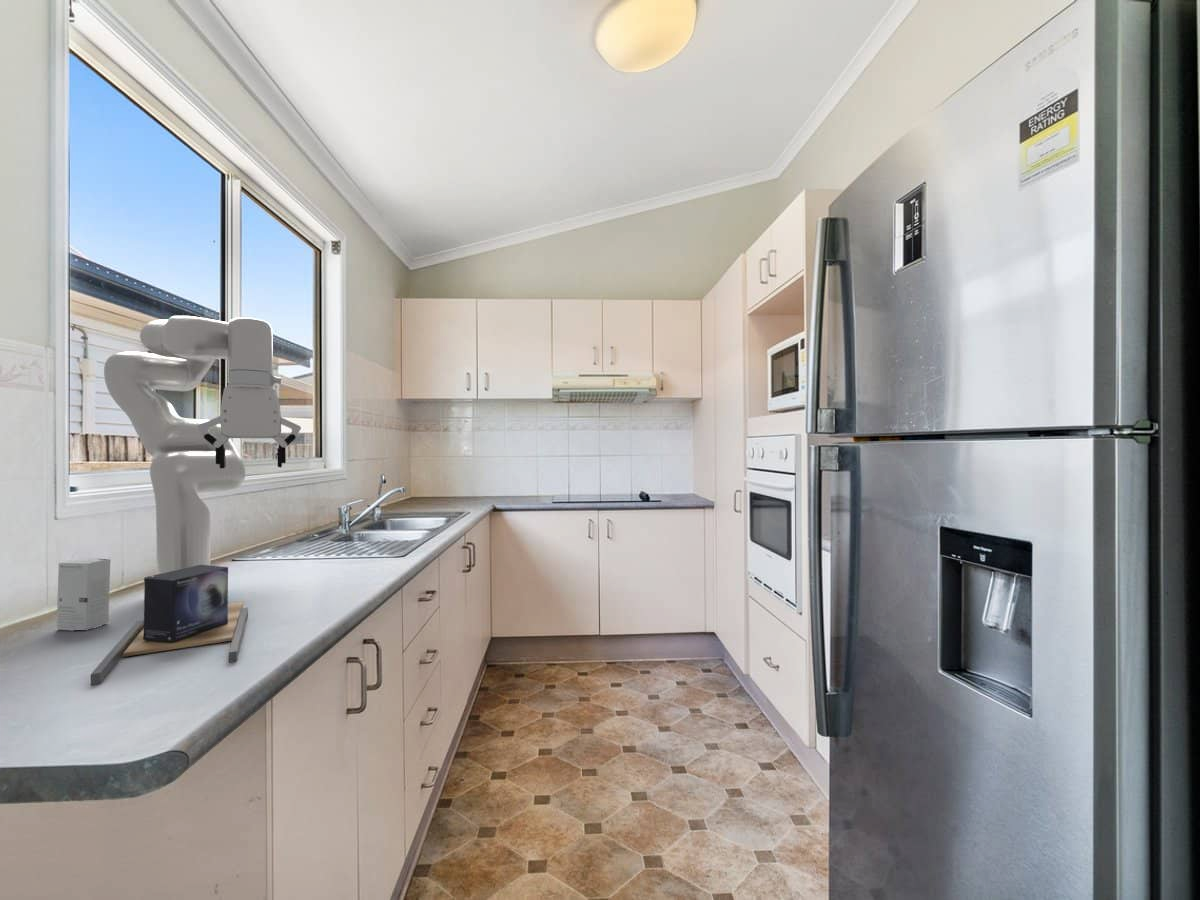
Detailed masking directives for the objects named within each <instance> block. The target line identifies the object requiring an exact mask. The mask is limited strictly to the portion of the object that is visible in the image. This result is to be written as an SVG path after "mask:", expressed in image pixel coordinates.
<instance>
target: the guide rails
mask: <svg viewBox="0 0 1200 900" xmlns="http://www.w3.org/2000/svg"><path fill="white" fill-rule="evenodd" d="M248 618H249V607H242V609H241V612H240V616H239V619H238V623H237V626H236V629H235V633H234V636H233V640H232V641H231V643H230V647H229V651H228V663H231V662H230V661H234V662H237V661H238V657H239V653H240V650H241V646H242V641H243V639H244V638H243V637H244V633H245V629H246V624H247V622H248ZM143 628H144V620H138V621H136V622H135V623H134V624H132V627H130V629H129V630H128V631H127V632H126V633H125V634H124V635H123V637H121V639H119V641H118V643H117V644H116V645H115V646H114V647H113V648H112V650H110V652H109V653H108V654H107V655H106V656H105V657H104V658H103V660H102V661H101V662H100V663H99V664H98V665H97V666H96V667H95V669H94V670H93V671H92V672H91V673H90V686H95V685H101V684H102V683H103V681H104V680H105V679H106V678H107V676H108V675H109V673H110V672H111V671H112V670H113V669H114V668H115V667H116V665H117V664H118V662H119V661H120V660H121V659H122V657H123V653H124V652H125V651H126V649H127V648H128V647H129V646H130V644H131V643H132V642H133V641H134V639H135V638H136V637H137V636H138V634H139V633H140V632H141V631H142V629H143Z"/></svg>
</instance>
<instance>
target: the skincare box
mask: <svg viewBox="0 0 1200 900" xmlns="http://www.w3.org/2000/svg"><path fill="white" fill-rule="evenodd" d="M57 571H58V574H57V575H58V577H57V601H56V602H57V604H56V605H57V606H56V609H57V610H56V629H59V630H58V631H74V630H86V631H89V630H88V629H91V628H94V627H97V626H100V625H103V624H105V625H107V624H109V614H110V613H109V609H110V583H111V582H110V581H111V578H110V577H111V559H110V558H97V557H96V558H94V557H92V558H91V557H89V558H88V557H80V558H74V559H69V560H65V561H61V562H59V563H58V570H57ZM106 623H107V624H106ZM103 626H104V625H103ZM100 627H101V626H100ZM97 628H98V627H97ZM94 629H95V628H94ZM91 630H92V629H91Z"/></svg>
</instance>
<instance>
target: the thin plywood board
mask: <svg viewBox="0 0 1200 900" xmlns="http://www.w3.org/2000/svg"><path fill="white" fill-rule="evenodd" d="M243 606H244V601H240V602H232V603H231V602H230V603H228V623H227V624H225V625H222V626H219V627H216V628H213V629H210V630H208V631H205V632H202V633H199V634H196V635H193V636H191V637H188V638H185V639H182V640H179V641H177V642H174V643H168V642H159V641H148V640H143V636H144V628H143V629H142V631H141V632H140V633H139V634H138V636H137V637H136V638H135V639H134V641H133V642H132V643H131V644H130V646H129V647H128V648H127V649H126V651H125V652H124V653H123V656H122V657H124V658H125V657H130V656H137V655H142V654H143V655H144V654H151V653H157V652H164V651H170V650H171V651H172V650H177V649H184V648H190V647H196V646H203V645H210V644H217V643H223V642H230V641H231V642H232V640H233V636H234V633H235V629H236V626H237V623H238V619H239V616H240V612H241V609H242V608H243Z"/></svg>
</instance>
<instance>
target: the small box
mask: <svg viewBox="0 0 1200 900" xmlns="http://www.w3.org/2000/svg"><path fill="white" fill-rule="evenodd" d="M143 581H144V591H143V593H144V594H143V595H144V597H143V598H144V599H143V600H144V601H143V606H144V608H143V610H144V611H143V621H144V636H143V640H148V641H159V642H168V643H174V642H177V641H179V640H182V639H185V638H188V637H191V636H193V635H196V634H199V633H202V632H205V631H208V630H210V629H213V628H216V627H219V626H222V625H225V624H227V623H228V604H229V602H228V601H229V586H228V585H229V567H228V566H220V565H211V564H210V565H197V566H193V567H188V568H184V569H180V570H175V571H171V572H166V573H162V574H157V573H156V574H153V575H149V576H146V577H144V578H143Z"/></svg>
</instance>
